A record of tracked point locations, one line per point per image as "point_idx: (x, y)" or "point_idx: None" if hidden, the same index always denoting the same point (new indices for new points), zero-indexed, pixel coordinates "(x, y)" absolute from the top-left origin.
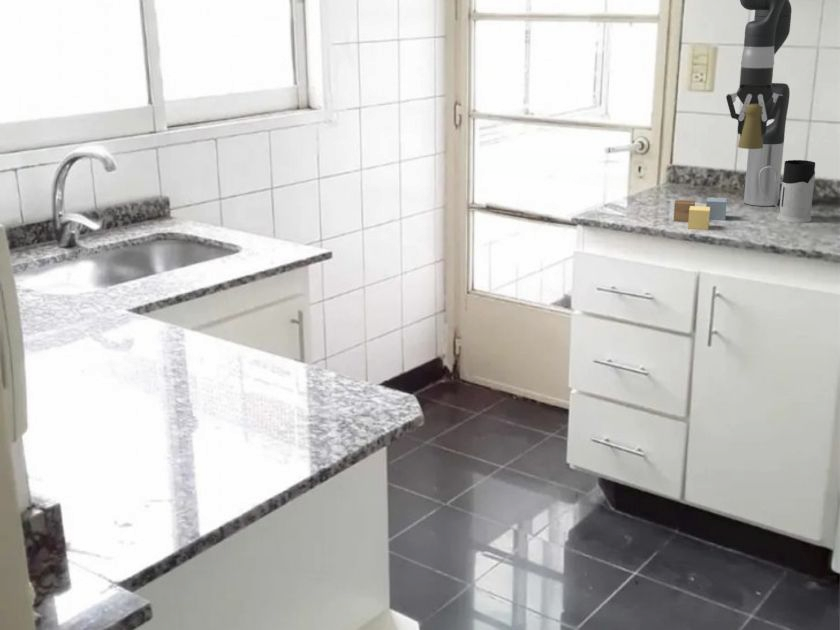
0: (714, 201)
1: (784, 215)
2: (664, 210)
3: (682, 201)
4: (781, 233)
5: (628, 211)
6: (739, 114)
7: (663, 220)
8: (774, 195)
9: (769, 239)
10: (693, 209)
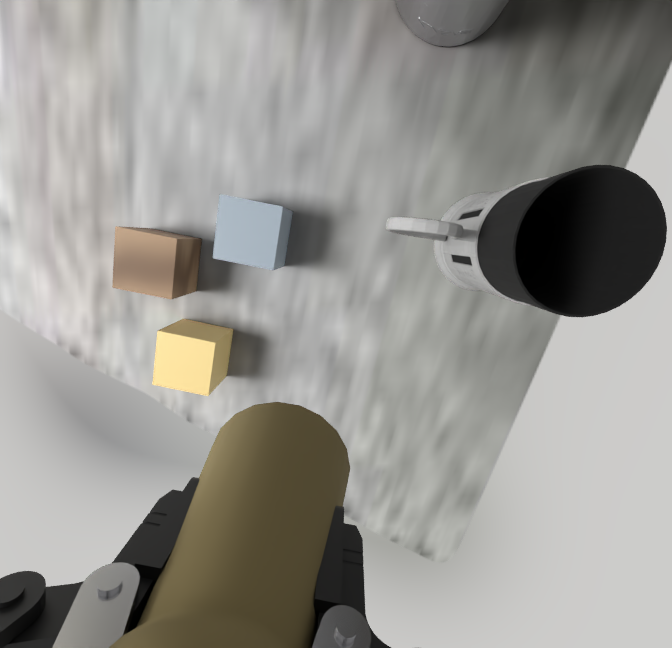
0: (236, 261)
1: (449, 269)
2: (120, 127)
3: (136, 263)
4: (396, 407)
5: (15, 148)
6: (66, 633)
7: None
8: (496, 11)
9: (353, 462)
10: (164, 378)
